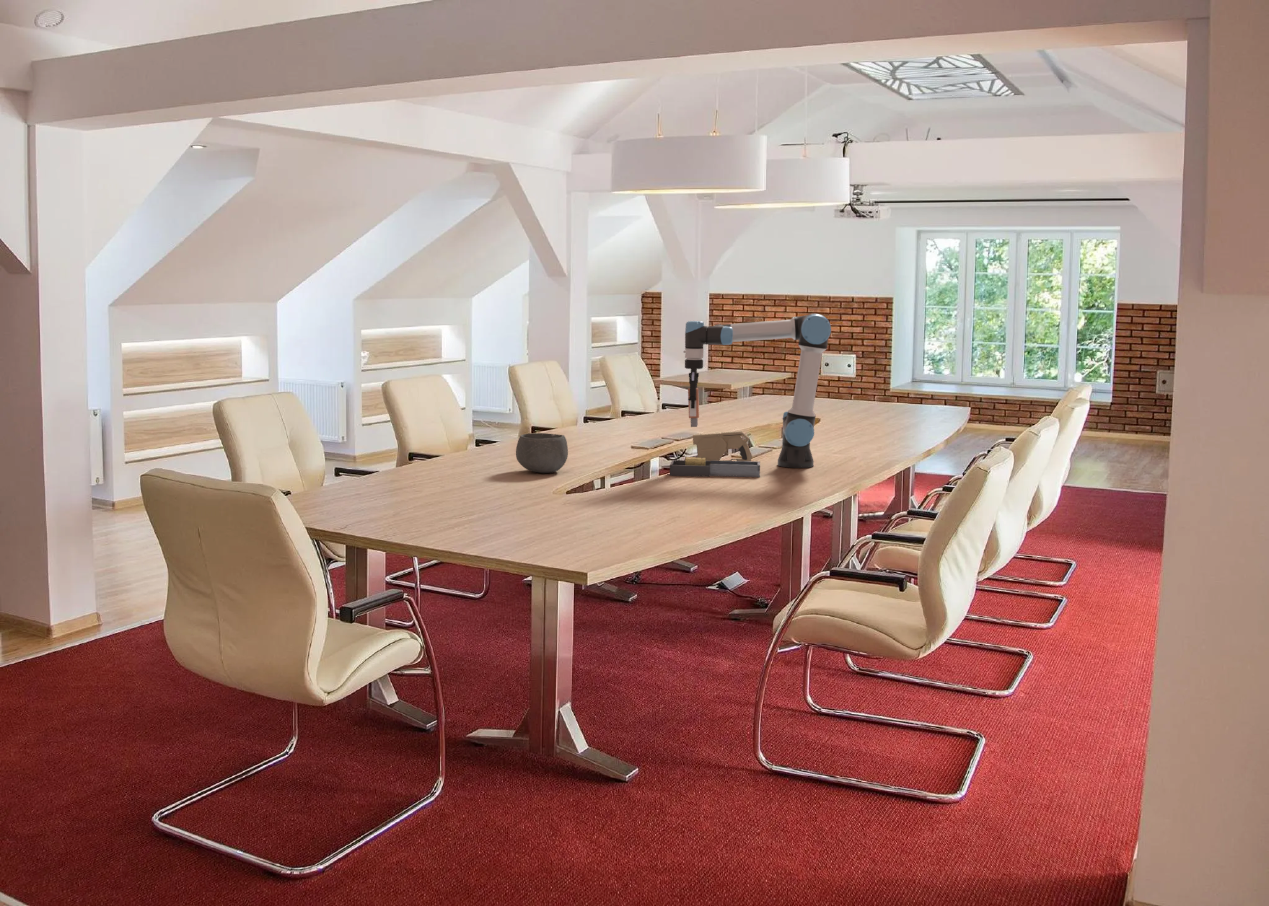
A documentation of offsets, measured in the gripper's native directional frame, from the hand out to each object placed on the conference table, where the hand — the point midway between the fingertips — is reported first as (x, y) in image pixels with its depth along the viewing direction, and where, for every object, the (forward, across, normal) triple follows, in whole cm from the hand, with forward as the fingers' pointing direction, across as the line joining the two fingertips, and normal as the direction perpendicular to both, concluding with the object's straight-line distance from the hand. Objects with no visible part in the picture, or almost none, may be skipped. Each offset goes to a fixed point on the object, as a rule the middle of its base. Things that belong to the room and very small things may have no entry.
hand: (693, 415), depth 503 cm
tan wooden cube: (+20, +12, 0) cm, 23 cm away
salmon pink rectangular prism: (+4, 0, +1) cm, 4 cm away
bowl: (+23, +18, -60) cm, 67 cm away
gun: (+23, -11, +12) cm, 28 cm away
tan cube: (+20, +12, +4) cm, 24 cm away
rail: (+22, +12, +18) cm, 31 cm away
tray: (+22, +12, 0) cm, 25 cm away
